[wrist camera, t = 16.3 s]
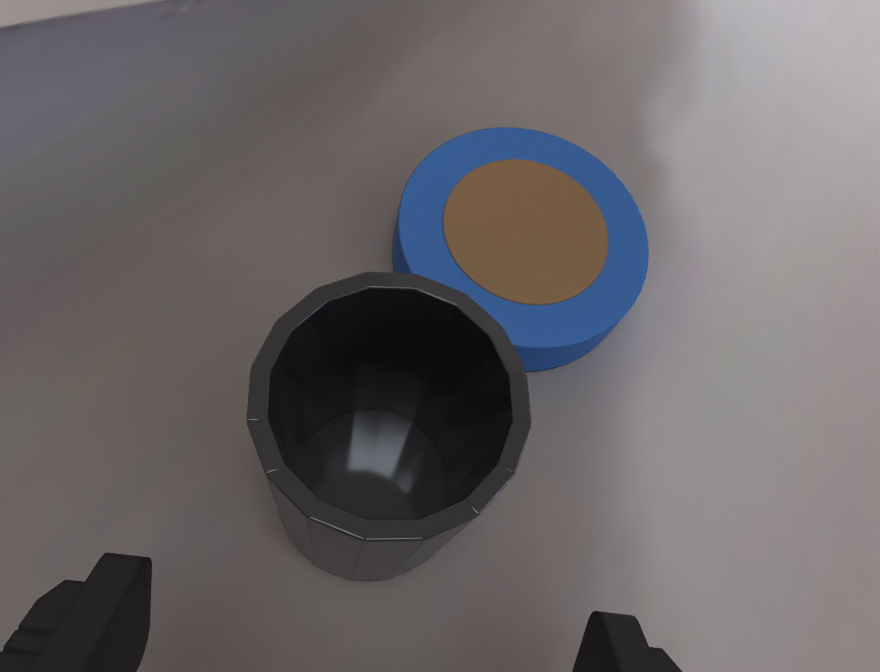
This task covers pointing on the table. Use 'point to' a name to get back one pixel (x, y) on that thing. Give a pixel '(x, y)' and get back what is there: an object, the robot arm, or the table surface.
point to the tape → (526, 238)
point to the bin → (385, 420)
